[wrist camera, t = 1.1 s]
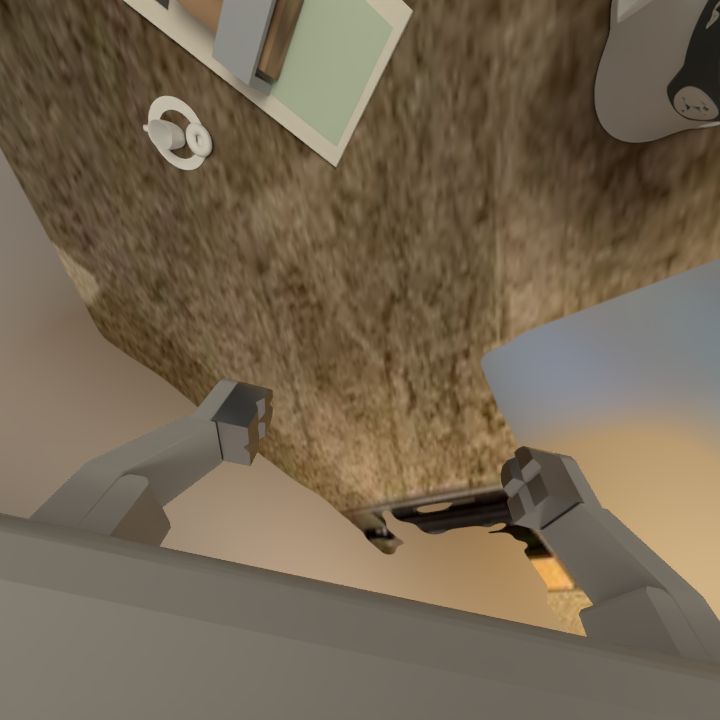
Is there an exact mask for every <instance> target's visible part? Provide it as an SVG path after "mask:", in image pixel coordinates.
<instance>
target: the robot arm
mask: <svg viewBox="0 0 720 720" xmlns="http://www.w3.org/2000/svg"><path fill="white" fill-rule="evenodd" d="M595 108H596V112H597V116H598V118H599V121H600V123H601V125H602V126H603V128H604V129H605V130H606V131H607V132H608V133H609V134H610V135H611V136H613V137H615V138H616V139H619V140H621V141H625V142H631V143H641V142H648V141H653V140H656V139H660V138H662V137H665V136H668V135H670V134H673V133H676V132H679V131H683V130H686V129H700V128H708V127H713V126H717V125H720V0H612V4H611V18H610V33H609V37H608V40H607V43H606V46H605V49H604V52H603V55H602V58H601V61H600V64H599V68H598V72H597V76H596V82H595ZM272 398H273V390H271V389H267V388H264V387H260V386H256V385H252V384H248V383H244V382H239V381H235V380H231V379H227V378H224V379H222V380H220V381H219V382H218V383H217V385H216V386H215V387H214V388H213V390H212V391H211V392H210V393H209V395H208V396H207V397H206V398H205V400H204V401H203V402H202V403H201V405H200V406H199V407H198V408H197V410H196V411H195V412H194V413H193V415H192V416H184V417H182V418H180V419H177V420H175V421H173V422H171V423H169V424H167V425H165V426H163V427H160V428H158V429H156V430H154V431H152V432H150V433H148V434H145V435H143V436H141V437H139V438H137V439H135V440H133V441H130V442H129V443H126V444H124V445H122V446H120V447H118V448H116V449H113V450H111V451H109V452H107V453H105V454H103V455H101V456H98V457H96V458H94V459H92V460H90V461H88V462H86V463H85V464H84V465H83V466H82V467H81V468H80V469H79V470H78V471H77V472H76V473H75V474H74V475H73V476H72V477H71V478H70V479H69V480H68V481H67V482H66V483H65V484H63V485H62V486H61V488H59V489H58V490H57V491H56V492H55V493H54V494H53V495H52V496H51V498H49V499H48V500H47V501H46V502H45V503H44V504H43V505H42V506H41V507H40V508H39V509H38V510H37V511H36V512H35V513H34V514H33V515H32V516H31V517H30V518H29V519H27V518H22V517H17V516H13V515H8V514H3V513H0V720H720V621H719V619H718V618H717V617H716V615H715V614H714V612H713V611H712V609H711V608H710V607H709V605H708V603H707V602H706V600H705V599H704V598H703V596H701V594H699V593H698V592H697V591H696V590H695V589H694V588H693V587H692V586H691V585H690V584H689V583H687V582H686V581H685V580H684V579H683V578H682V577H681V576H680V575H679V574H678V573H677V572H675V571H674V570H673V569H672V568H671V567H670V566H669V565H668V564H667V563H666V562H665V561H663V560H662V559H661V558H660V557H659V556H658V555H657V554H656V553H655V552H654V551H652V550H651V549H650V548H649V547H648V546H647V545H646V544H645V543H644V542H643V541H641V539H639V538H638V537H637V536H636V535H635V534H634V533H633V532H632V531H631V530H630V529H629V528H627V527H626V526H625V525H624V524H623V523H622V522H621V521H620V520H619V519H618V518H616V517H615V516H614V515H613V514H612V513H611V512H610V511H609V510H608V509H604V508H602V506H601V504H600V503H599V501H598V499H597V498H596V496H595V494H594V492H593V490H592V489H591V487H590V485H589V483H588V482H587V480H586V478H585V477H584V475H583V473H582V471H581V469H580V468H579V466H578V464H577V463H576V461H575V460H574V459H573V458H572V457H571V456H566V455H561V454H557V453H552V452H548V451H544V450H539V449H534V448H529V447H525V446H523V447H520V448H518V449H517V450H516V451H515V452H514V453H515V458H512V459H509V460H507V461H506V463H505V464H504V465H503V466H502V471H501V482H502V486H503V489H504V490H505V491H506V492H507V493H508V495H509V496H510V497H509V500H508V506H509V509H510V512H511V515H512V519H513V522H514V524H517V525H521V526H525V527H529V528H533V529H537V530H541V531H540V532H541V534H542V535H543V536H544V538H545V539H546V540H547V542H548V543H549V545H550V546H551V547H552V549H553V550H554V551H555V553H556V554H557V555H558V557H559V558H560V560H561V561H562V562H563V564H564V565H565V566H566V568H567V569H568V570H569V572H570V573H571V575H572V576H573V577H574V579H575V580H576V581H577V583H578V584H579V586H580V587H581V588H582V590H583V591H584V592H585V594H586V595H587V596H588V598H589V599H590V601H591V602H592V603H593V606H590V607H587V608H584V609H582V610H581V611H580V613H579V616H580V619H581V621H582V624H583V627H584V629H585V632H586V635H587V637H585V636H580V635H576V634H571V633H566V632H561V631H557V630H552V629H547V628H542V627H538V626H532V625H528V624H523V623H518V622H514V621H509V620H504V619H500V618H495V617H490V616H486V615H481V614H476V613H471V612H467V611H462V610H457V609H452V608H448V607H443V606H438V605H434V604H428V603H424V602H419V601H415V600H410V599H405V598H401V597H396V596H391V595H386V594H382V593H377V592H372V591H367V590H363V589H357V588H353V587H349V586H344V585H339V584H334V583H330V582H325V581H320V580H315V579H311V578H306V577H301V576H296V575H292V574H287V573H282V572H277V571H273V570H268V569H263V568H259V567H254V566H249V565H244V564H240V563H235V562H230V561H226V560H221V559H216V558H211V557H206V556H202V555H197V554H192V553H187V552H183V551H178V550H174V549H169V548H164V547H159V546H160V545H161V543H162V541H163V540H164V538H165V536H166V535H167V533H168V531H169V530H170V528H171V527H170V522H169V520H168V518H167V516H166V514H165V512H164V510H163V508H162V507H163V506H165V505H166V504H167V503H169V502H170V501H171V500H173V499H174V498H175V497H177V496H178V495H179V494H181V493H182V492H183V491H185V490H186V489H187V488H189V487H190V486H191V485H193V484H194V483H195V482H197V481H198V480H199V479H201V478H202V477H203V476H205V475H206V474H207V473H209V472H210V471H211V470H213V469H214V468H215V467H217V466H218V465H219V464H221V463H222V460H223V461H228V462H233V463H238V464H244V465H249V466H251V464H252V462H253V460H254V458H255V456H256V454H257V452H258V449H259V447H260V445H259V439H260V438H262V437H264V436H265V435H266V433H267V431H268V428H269V425H270V422H271V419H272V413H273V407H272V406H271V405H270V402H271V400H272Z"/></svg>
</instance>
